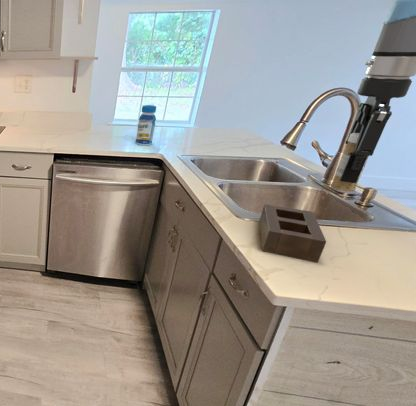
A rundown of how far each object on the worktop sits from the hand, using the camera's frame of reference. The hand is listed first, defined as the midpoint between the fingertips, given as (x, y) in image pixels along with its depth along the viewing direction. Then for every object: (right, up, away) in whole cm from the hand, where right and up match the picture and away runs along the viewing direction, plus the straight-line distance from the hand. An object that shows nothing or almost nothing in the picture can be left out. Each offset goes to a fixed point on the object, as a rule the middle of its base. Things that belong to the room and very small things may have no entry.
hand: (345, 178), depth 88 cm
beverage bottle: (+1, +26, +109) cm, 112 cm away
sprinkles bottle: (0, -3, +1) cm, 3 cm away
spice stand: (-5, -16, +11) cm, 20 cm away
